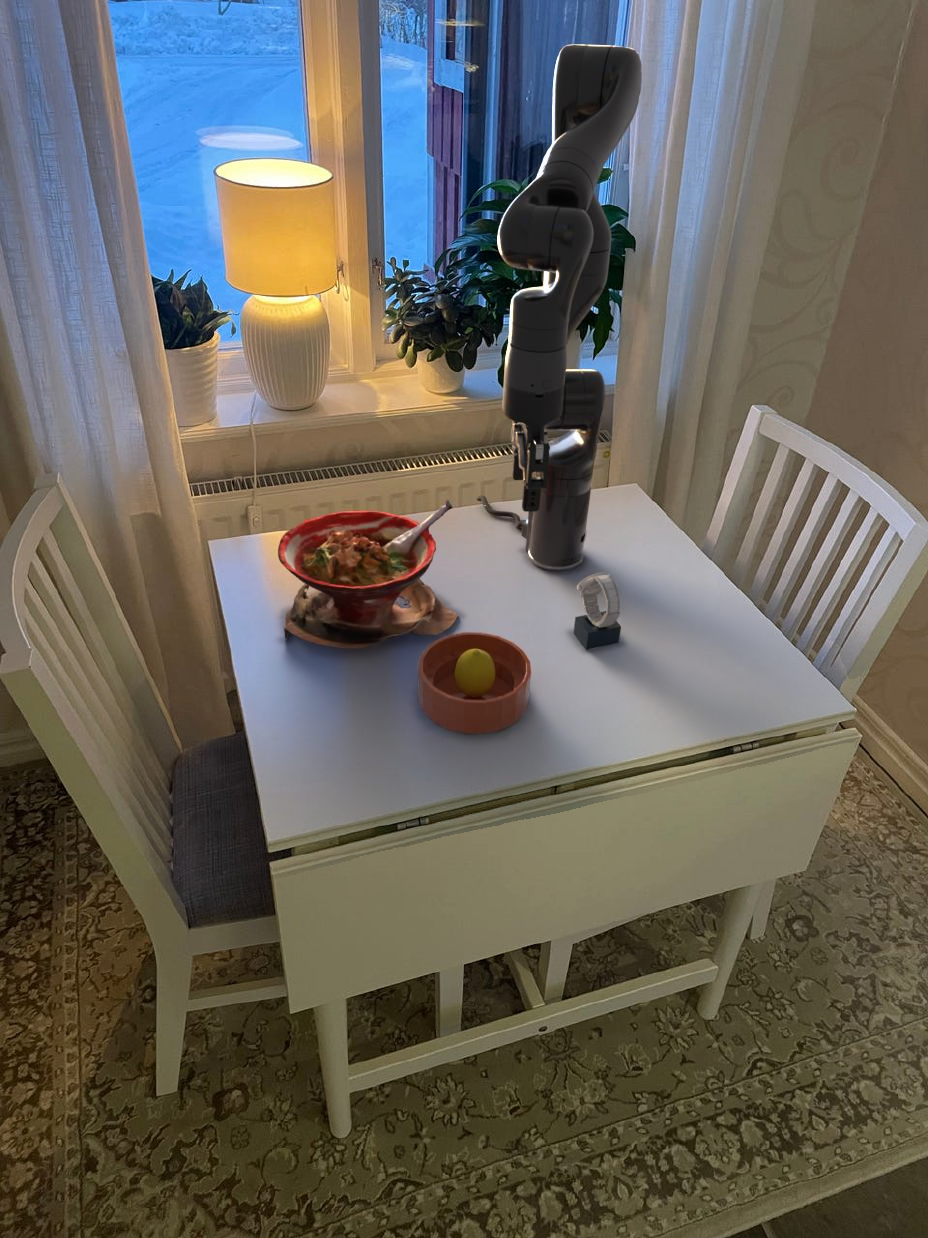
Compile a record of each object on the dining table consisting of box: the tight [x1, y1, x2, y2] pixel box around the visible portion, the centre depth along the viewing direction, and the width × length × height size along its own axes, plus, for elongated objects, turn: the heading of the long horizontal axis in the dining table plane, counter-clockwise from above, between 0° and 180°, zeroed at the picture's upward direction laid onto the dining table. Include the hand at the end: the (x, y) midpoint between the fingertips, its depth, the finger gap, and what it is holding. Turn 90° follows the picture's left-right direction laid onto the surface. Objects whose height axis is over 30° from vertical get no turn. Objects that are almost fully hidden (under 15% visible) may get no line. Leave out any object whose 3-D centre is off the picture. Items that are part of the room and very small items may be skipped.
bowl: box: [417, 631, 532, 734], centre depth 128 cm, size 15×15×6 cm
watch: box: [572, 572, 622, 651], centre depth 139 cm, size 6×8×11 cm
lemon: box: [455, 649, 495, 697], centre depth 127 cm, size 6×6×8 cm
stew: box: [277, 499, 458, 649], centre depth 141 cm, size 28×24×16 cm
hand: (525, 494), depth 124 cm, fingers open, 8 cm apart
